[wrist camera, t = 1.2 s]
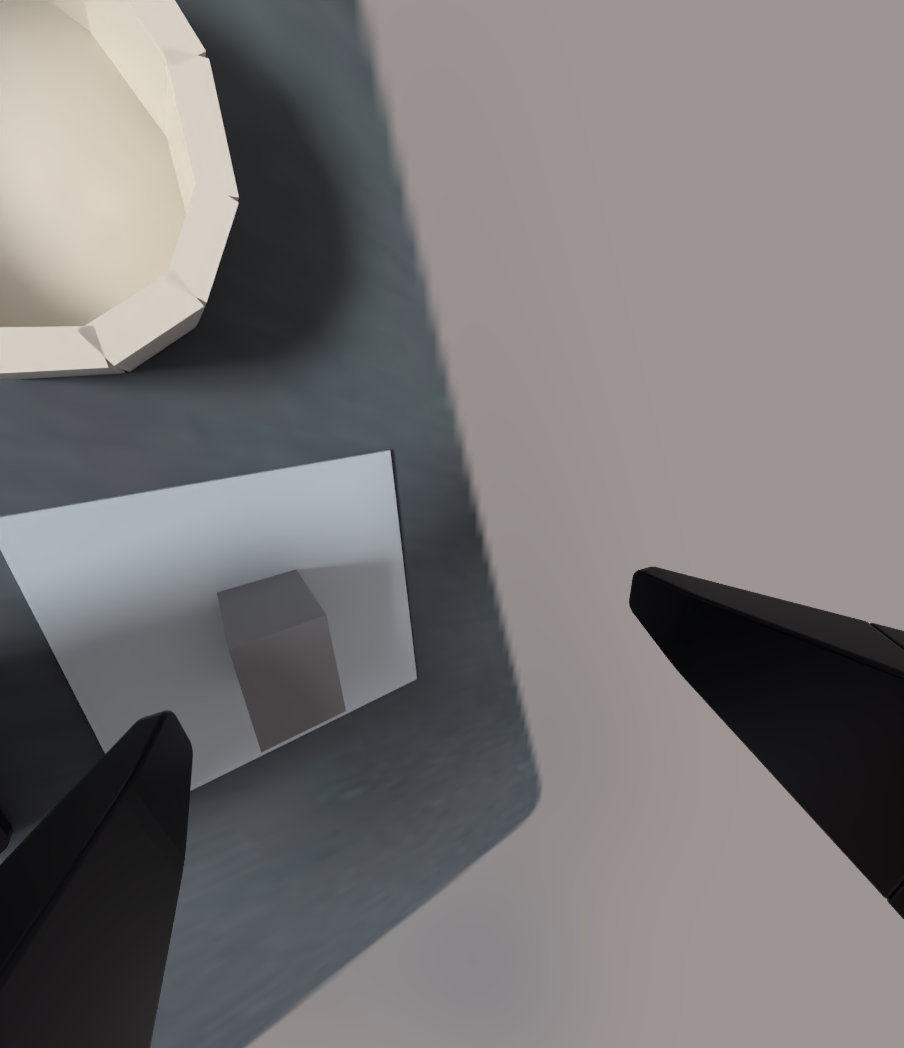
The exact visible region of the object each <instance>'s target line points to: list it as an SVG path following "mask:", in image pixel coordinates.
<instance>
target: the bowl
mask: <svg viewBox="0 0 904 1048" xmlns="http://www.w3.org/2000/svg"><path fill="white" fill-rule="evenodd" d="M205 57H206V50H205V49H204V47H203V45H202V44H201V42H200V40H199V39H198V37H197V36H196V34H195V32H194V31H193V29H192V27H191V26H190V24H189V23H188V21H187V19H186V18H185V16H184V14H183V13H182V11H181V10H180V8H179V6H178V5H177V3H176V1H175V0H0V379H35V378H52V377H69V376H86V375H103V374H120V373H125V370H126V371H129V372H130V371H132V370H133V369H135V368H136V367H138V366H139V365H140V364H142V363H143V362H145V361H146V360H148V359H149V358H151V357H152V356H154V355H155V354H157V353H158V352H160V351H161V350H163V349H164V348H166V347H167V346H169V345H170V344H172V343H173V342H175V341H176V340H177V339H179V338H180V337H182V336H183V335H185V334H186V333H188V332H189V331H191V330H192V329H194V328H195V327H196V325H197V324H198V323H199V320H200V318H201V315H202V313H203V311H204V308H205V306H206V303H207V300H208V297H209V294H210V291H211V288H212V285H213V282H214V279H215V275H216V272H217V269H218V266H219V263H220V260H221V257H222V254H223V251H224V248H225V244H226V241H227V238H228V235H229V232H230V229H231V226H232V223H233V220H234V216H235V213H236V210H237V207H238V204H239V203H238V199H239V195H238V190H237V186H236V181H235V176H234V172H233V167H232V163H231V158H230V153H229V149H228V144H227V139H226V135H225V130H224V125H223V121H222V116H221V111H220V107H219V102H218V97H217V93H216V88H215V84H214V79H213V74H212V70H211V65H210V60H209V58H205Z"/></svg>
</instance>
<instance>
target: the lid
mask: <svg viewBox="0 0 904 1048" xmlns="http://www.w3.org/2000/svg"><path fill="white" fill-rule="evenodd" d="M0 550H1V551H2V553H3V555H4V557H5V559H6V561H7V563H8V565H9V567H10V569H11V571H12V573H13V575H14V577H15V579H16V581H17V583H18V585H19V587H20V589H21V591H22V592H23V594H24V596H25V598H26V600H27V602H28V604H29V606H30V608H31V610H32V612H33V614H34V616H35V618H36V620H37V622H38V624H39V626H40V628H41V630H42V632H43V633H44V635H45V637H46V639H47V641H48V643H49V645H50V647H51V649H52V651H53V653H54V655H55V657H56V659H57V661H58V663H59V665H60V667H61V669H62V671H63V673H64V674H65V676H66V678H67V680H68V682H69V684H70V686H71V688H72V690H73V692H74V694H75V696H76V698H77V700H78V702H79V704H80V706H81V708H82V710H83V712H84V713H85V715H86V717H87V719H88V721H89V723H90V725H91V727H92V729H93V731H94V733H95V735H96V737H97V739H98V741H99V743H100V745H101V747H102V749H103V751H104V753H105V754H106V753H107V752H108V751H109V750H110V749H111V748H112V747H113V745H114V744H115V743H116V742H117V741H118V740H119V739H120V738H121V737H122V736H123V735H124V734H125V733H126V732H127V731H128V730H129V729H130V728H131V726H132V725H133V724H134V723H135V722H136V721H138V720H139V719H140V718H142V717H144V716H148V715H151V714H154V713H158V712H161V711H165V710H170V711H172V712H174V714H175V715H176V716H177V718H178V720H179V722H180V724H181V725H182V727H183V729H184V731H185V732H186V734H187V736H188V738H189V740H190V742H191V745H192V749H193V762H192V775H191V788H190V791H191V790H193V789H195V788H197V787H199V786H201V785H203V784H205V783H207V782H210V781H212V780H214V779H216V778H218V777H220V776H222V775H224V774H226V773H228V772H230V771H232V770H234V769H236V768H238V767H240V766H242V765H244V764H246V763H248V762H250V761H252V760H254V759H256V758H258V757H260V756H262V755H264V754H266V753H268V752H270V751H272V750H274V749H276V748H278V747H280V746H282V745H284V744H286V743H288V742H290V741H292V740H295V739H297V738H299V737H301V736H303V735H305V734H307V733H309V732H311V731H313V730H315V729H317V728H319V727H321V726H323V725H325V724H327V723H329V722H331V721H333V720H335V719H337V718H339V717H341V716H343V715H345V714H347V713H349V712H351V711H353V710H355V709H357V708H359V707H361V706H363V705H365V704H367V703H369V702H371V701H373V700H375V699H378V698H380V697H382V696H384V695H386V694H388V693H390V692H392V691H394V690H396V689H398V688H400V687H402V686H404V685H406V684H408V683H410V682H412V681H414V680H416V679H417V675H416V666H415V658H414V649H413V640H412V632H411V623H410V615H409V606H408V598H407V589H406V581H405V572H404V563H403V555H402V546H401V538H400V529H399V521H398V512H397V504H396V495H395V486H394V478H393V469H392V461H391V452H390V450H384V451H378V452H372V453H366V454H360V455H354V456H348V457H343V458H337V459H331V460H325V461H319V462H313V463H307V464H302V465H296V466H290V467H284V468H278V469H272V470H267V471H261V472H255V473H249V474H243V475H237V476H231V477H226V478H220V479H214V480H208V481H202V482H196V483H191V484H185V485H179V486H173V487H167V488H161V489H155V490H150V491H144V492H138V493H132V494H126V495H120V496H115V497H109V498H103V499H97V500H91V501H85V502H79V503H74V504H68V505H62V506H56V507H50V508H44V509H39V510H33V511H27V512H21V513H15V514H9V515H3V516H0Z"/></svg>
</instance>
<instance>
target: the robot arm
mask: <svg viewBox="0 0 904 1048" xmlns="http://www.w3.org/2000/svg"><path fill="white" fill-rule="evenodd" d="M629 604H630V608H631V610H632V612H633V613H634V615H635V616H636V617H637V618H638V620H639V621H640V623H641V624H642V625H643V626H644V628H645V629H646V630H647V632H648V633H649V634H650V636H651V637H652V638H653V640H654V641H655V642H656V644H657V645H658V646H659V647H660V649H661V650H662V651H663V653H664V654H665V655H666V657H667V658H668V659H669V660H670V662H671V663H672V664H673V666H674V667H675V668H676V669H677V671H679V673H680V674H681V675H682V676H683V677H684V678H685V680H686V681H687V682H688V683H689V684H690V685H691V686H692V687H693V688H694V690H695V691H696V692H697V693H698V694H699V695H700V696H701V697H702V698H703V699H704V700H705V701H706V703H707V704H708V705H709V706H710V707H711V708H712V709H713V710H714V711H715V713H716V714H717V715H718V716H719V717H720V718H721V719H722V720H723V721H724V722H725V723H726V725H727V726H728V727H729V728H730V729H731V730H732V731H733V732H734V733H735V734H736V735H737V737H738V738H739V739H740V740H741V741H742V742H743V743H744V744H745V745H746V746H747V748H748V749H749V750H750V751H751V752H752V753H753V754H754V755H755V756H756V757H757V758H758V760H759V761H760V762H761V763H762V764H763V765H764V766H765V767H766V768H767V769H768V771H769V772H770V773H771V774H772V775H773V776H774V777H775V778H776V779H777V780H778V782H779V783H780V784H781V785H782V786H783V787H784V788H785V789H786V790H787V791H788V793H790V795H791V796H792V797H793V798H794V799H795V800H796V801H797V802H798V803H799V805H800V806H801V807H802V808H803V809H804V810H805V811H806V812H807V813H808V814H809V816H810V817H811V818H812V819H813V820H814V821H815V822H816V823H817V824H818V825H819V827H820V828H821V829H822V830H823V831H824V832H825V833H826V834H827V835H828V836H829V837H830V839H831V840H832V841H833V842H834V843H835V844H836V845H837V846H838V847H839V848H840V849H841V851H842V852H843V853H844V854H845V855H846V856H847V857H848V858H849V859H850V860H851V861H852V863H853V864H854V865H855V866H856V867H857V868H858V869H859V870H860V871H861V872H862V874H863V875H864V876H865V877H866V878H867V879H868V880H869V881H870V882H871V883H872V885H873V886H874V887H875V888H876V889H877V890H878V891H879V892H880V893H881V894H882V896H883V897H885V898H887V901H888V902H889V904H890V905H891V906H892V907H893V908H894V909H895V910H896V911H897V913H898V914H899V915H900V916H901V917H902V918H903V919H904V631H902V630H898V629H894V628H890V627H886V626H882V625H878V624H874V623H870V624H869V623H868V622H866V621H863V620H859V619H855V618H851V617H847V616H843V615H839V614H835V613H832V612H828V611H824V610H820V609H816V608H812V607H808V606H804V605H801V604H797V603H793V602H789V601H785V600H781V599H777V598H773V597H770V596H766V595H761V594H758V593H754V592H750V591H746V590H743V589H739V588H735V587H730V586H727V585H723V584H719V583H716V582H712V581H708V580H704V579H700V578H696V577H692V576H688V575H684V574H680V573H677V572H673V571H669V570H665V569H661V568H657V567H648V568H644V569H641V570H638V571H636V572H635V573H634V575H633V579H632V586H631V592H630V599H629ZM192 762H193V749H192V745H191V742H190V740H189V738H188V736H187V734H186V732H185V731H184V729H183V727H182V725H181V724H180V722H179V720H178V718H177V716H176V715H175V714H174V712H172V711H170V710H165V711H161V712H158V713H154V714H151V715H148V716H144V717H142V718H140V719H139V720H138V721H136V722H135V723H134V724H133V725H132V726H131V728H130V729H129V730H128V731H127V732H126V733H125V734H124V735H123V736H122V737H121V738H120V739H119V740H118V741H117V742H116V743H115V744H114V745H113V747H112V748H111V749H110V750H109V751H108V752H107V753H106V754H105V755H104V756H103V757H102V758H101V759H100V760H99V761H98V762H97V763H96V764H95V766H94V767H93V768H92V769H91V770H90V771H89V772H88V773H87V774H86V775H85V776H84V777H83V778H82V779H81V780H80V781H79V782H78V783H77V785H76V786H75V787H74V788H73V789H72V790H71V791H70V792H69V793H68V794H67V795H66V796H65V797H64V798H63V799H62V800H61V801H60V802H59V804H58V805H57V806H56V807H55V808H54V809H53V810H52V811H51V812H50V813H49V814H48V815H47V816H46V817H45V818H44V819H43V820H42V821H41V823H40V824H39V825H38V826H37V827H36V828H35V829H34V830H33V831H32V832H31V833H30V834H29V835H28V836H27V837H26V838H25V839H24V840H23V842H22V843H21V844H20V845H19V846H18V847H17V848H16V849H15V850H14V851H13V852H12V853H11V854H10V855H9V856H8V857H7V858H6V859H5V861H4V862H3V863H2V864H1V865H0V1048H150V1046H151V1041H152V1036H153V1030H154V1025H155V1019H156V1014H157V1009H158V1003H159V998H160V992H161V987H162V982H163V976H164V971H165V965H166V960H167V954H168V949H169V944H170V938H171V933H172V927H173V922H174V917H175V911H176V906H177V900H178V895H179V890H180V884H181V879H182V873H183V866H184V860H185V851H186V841H187V828H188V814H189V801H190V788H191V775H192ZM12 832H13V829H12V826H11V824H10V823H9V822H8V820H7V819H6V817H5V816H4V815H3V813H2V812H1V810H0V853H2V852H3V851H4V850H5V849H6V848H7V846H8V843H9V841H10V838H11V835H12Z"/></svg>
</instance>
